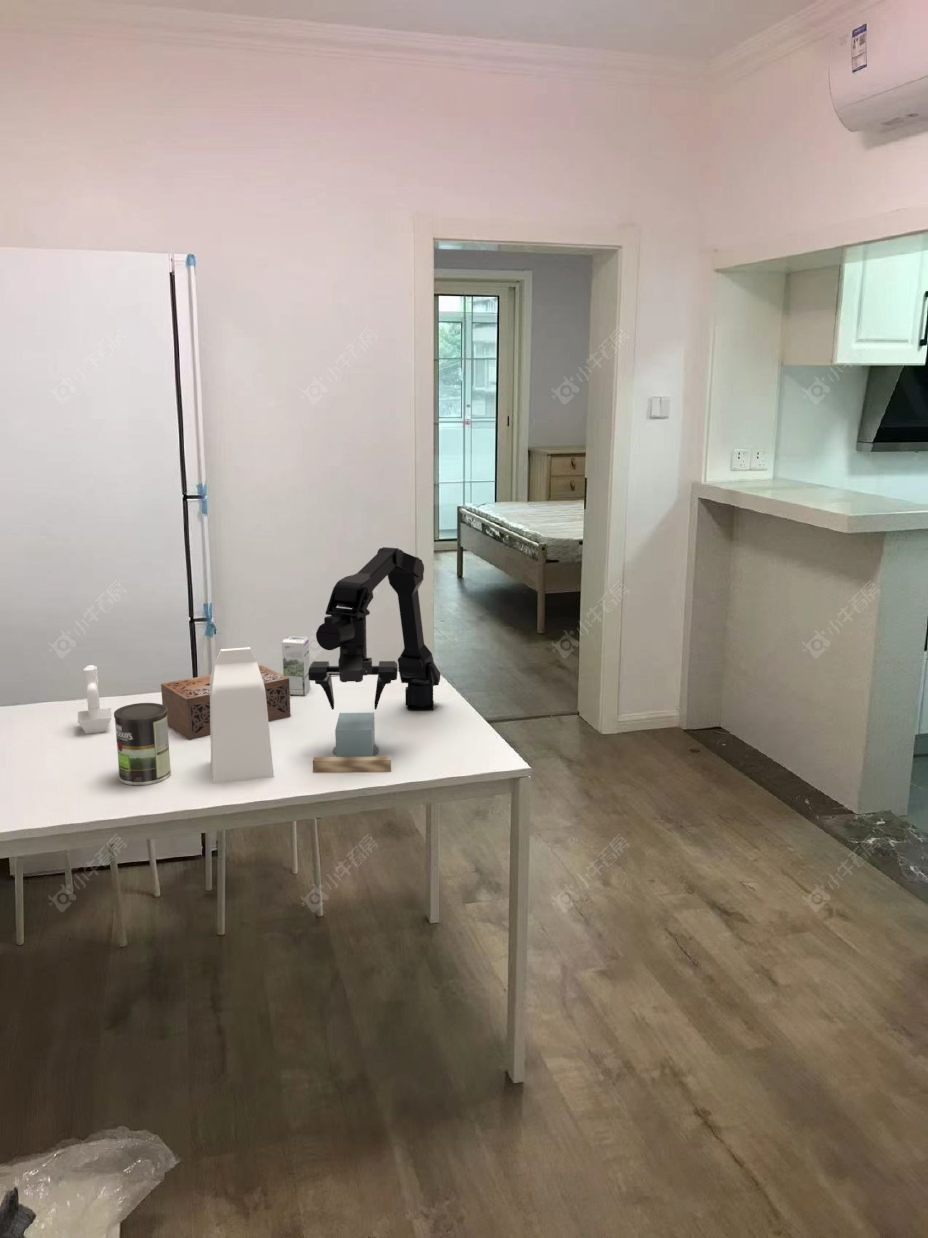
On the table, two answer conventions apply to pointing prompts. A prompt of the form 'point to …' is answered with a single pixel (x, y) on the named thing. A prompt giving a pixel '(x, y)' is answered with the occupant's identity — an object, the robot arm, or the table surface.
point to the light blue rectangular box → (355, 735)
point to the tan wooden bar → (351, 764)
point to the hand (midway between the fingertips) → (354, 708)
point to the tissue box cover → (193, 702)
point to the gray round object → (373, 750)
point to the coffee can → (142, 743)
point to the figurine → (93, 705)
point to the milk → (238, 718)
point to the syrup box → (296, 664)
